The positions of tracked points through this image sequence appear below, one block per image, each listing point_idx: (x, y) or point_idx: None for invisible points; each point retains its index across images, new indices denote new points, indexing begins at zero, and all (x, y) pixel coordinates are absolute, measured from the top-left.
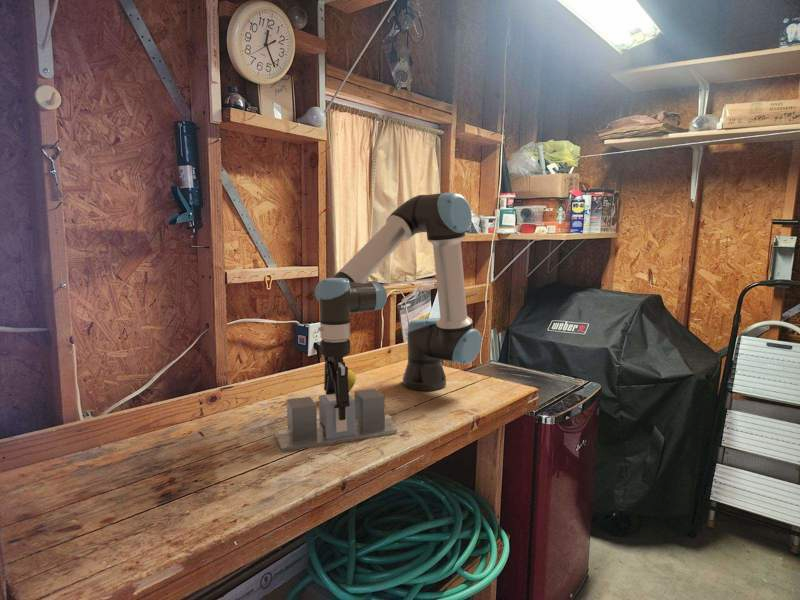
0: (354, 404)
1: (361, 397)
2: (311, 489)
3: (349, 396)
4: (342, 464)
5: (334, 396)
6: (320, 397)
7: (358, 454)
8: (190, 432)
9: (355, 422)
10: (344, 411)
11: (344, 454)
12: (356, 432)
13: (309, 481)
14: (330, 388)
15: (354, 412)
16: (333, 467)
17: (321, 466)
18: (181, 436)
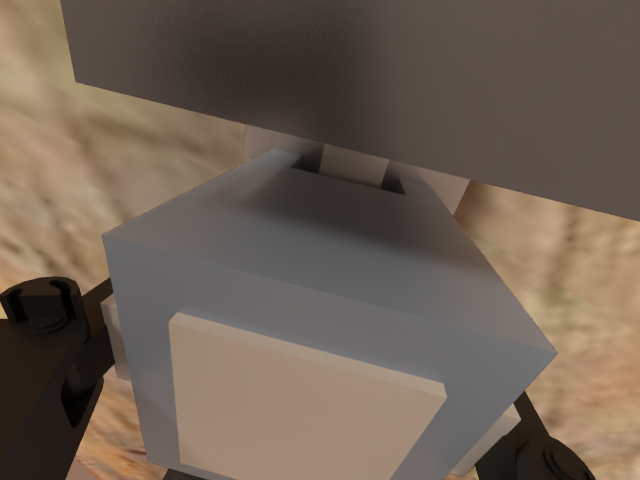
0: (518, 310)
1: (552, 185)
2: (629, 467)
3: (328, 312)
4: (598, 354)
5: (255, 439)
6: (201, 476)
7: (595, 269)
8: (128, 459)
9: (378, 158)
10: (529, 415)
11: (534, 308)
12: (415, 167)
13: (584, 451)
14: (55, 456)
15: (476, 254)
16: (583, 381)
17: (537, 397)
18: (145, 472)
